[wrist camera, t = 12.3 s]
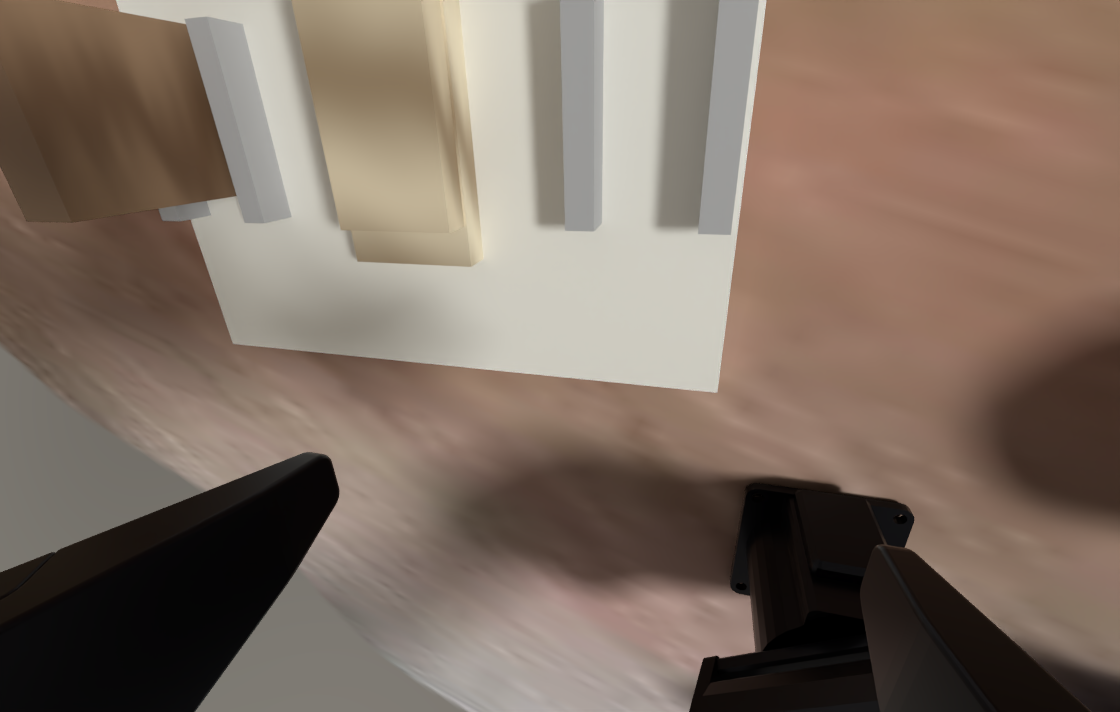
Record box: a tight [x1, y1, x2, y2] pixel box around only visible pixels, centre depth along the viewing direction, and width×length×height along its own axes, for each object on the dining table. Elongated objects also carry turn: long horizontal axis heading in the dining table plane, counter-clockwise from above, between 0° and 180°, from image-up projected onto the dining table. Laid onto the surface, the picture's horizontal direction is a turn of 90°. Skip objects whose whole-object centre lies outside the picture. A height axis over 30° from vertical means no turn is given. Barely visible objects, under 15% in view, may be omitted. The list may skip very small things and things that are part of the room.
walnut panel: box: [0, 0, 237, 223], centre depth 17 cm, size 6×2×7 cm, turn 2°
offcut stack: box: [291, 0, 484, 267], centre depth 17 cm, size 10×5×2 cm, turn 1°
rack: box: [116, 0, 766, 393], centre depth 18 cm, size 20×24×2 cm
